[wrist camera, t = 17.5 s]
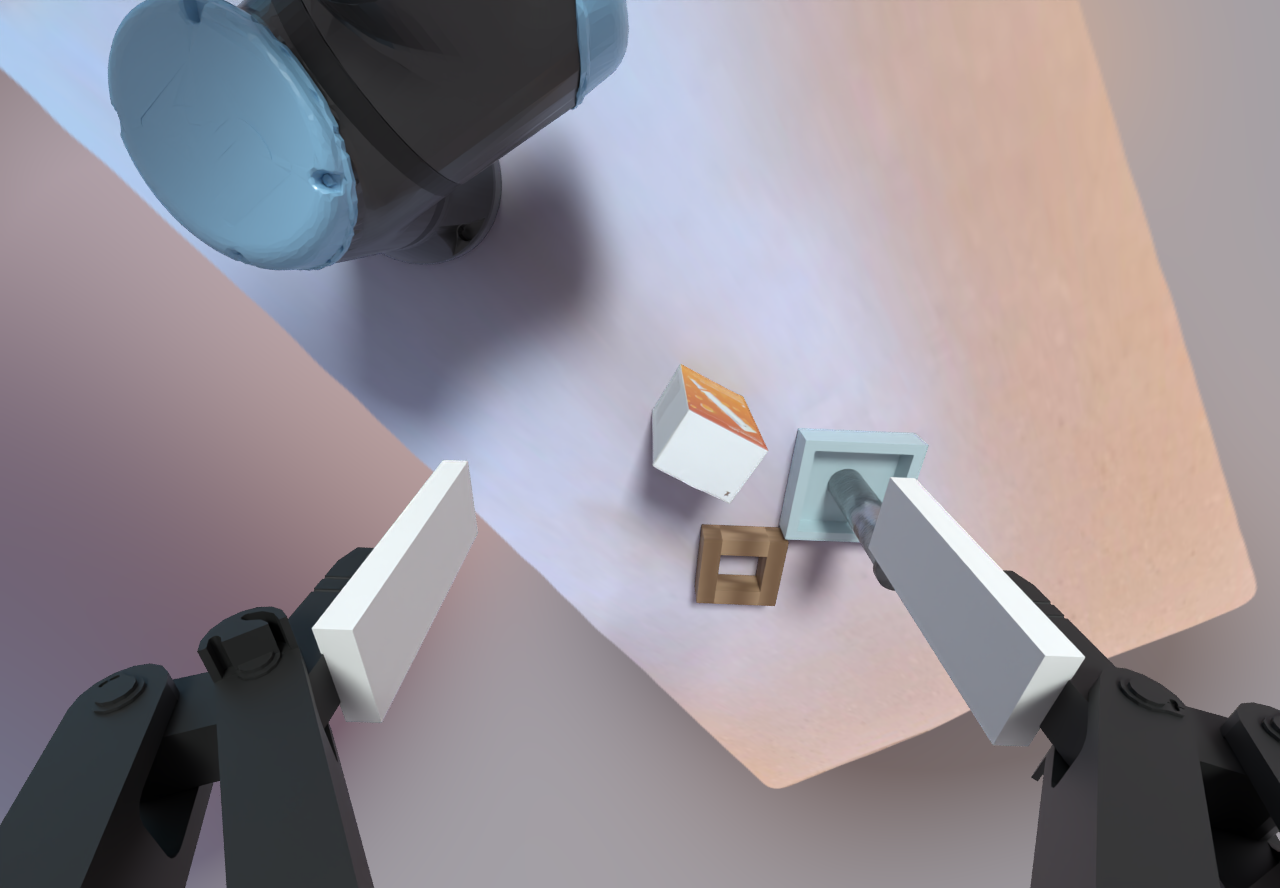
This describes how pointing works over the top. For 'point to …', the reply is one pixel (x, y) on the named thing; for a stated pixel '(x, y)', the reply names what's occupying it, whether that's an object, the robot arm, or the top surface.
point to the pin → (858, 511)
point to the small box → (705, 435)
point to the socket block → (740, 543)
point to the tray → (829, 452)
